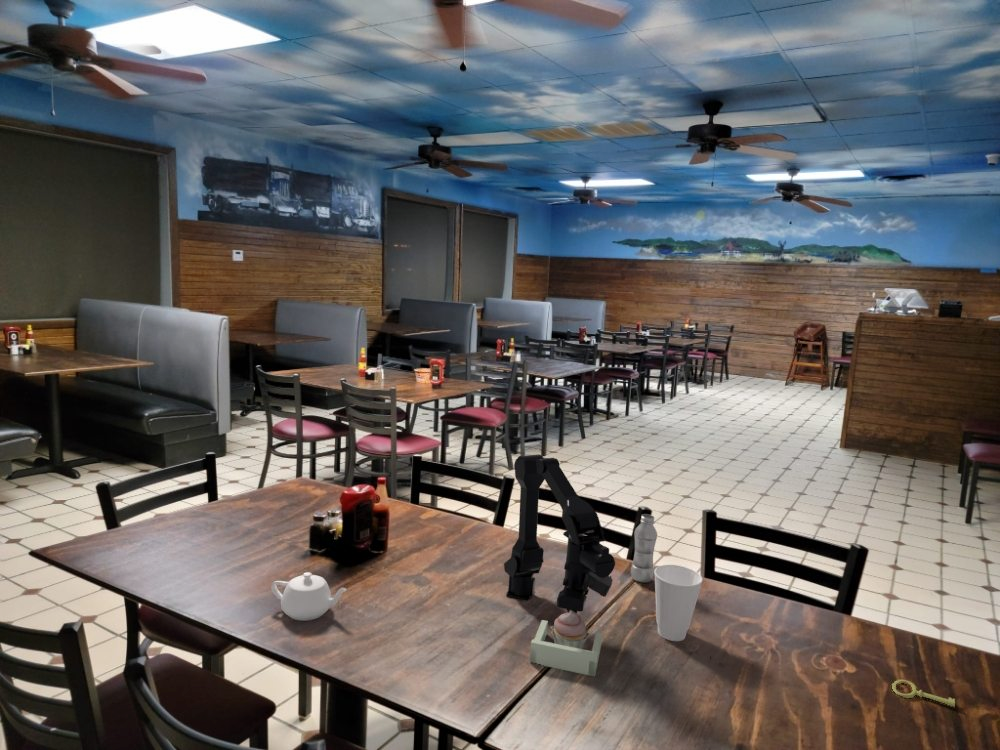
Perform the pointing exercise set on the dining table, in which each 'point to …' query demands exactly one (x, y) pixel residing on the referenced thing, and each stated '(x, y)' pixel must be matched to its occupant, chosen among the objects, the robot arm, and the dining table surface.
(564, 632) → the cupcake
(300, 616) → the teapot
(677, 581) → the cup
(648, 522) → the plastic bottle
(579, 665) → the pocket
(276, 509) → the dining table surface
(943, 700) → the key
